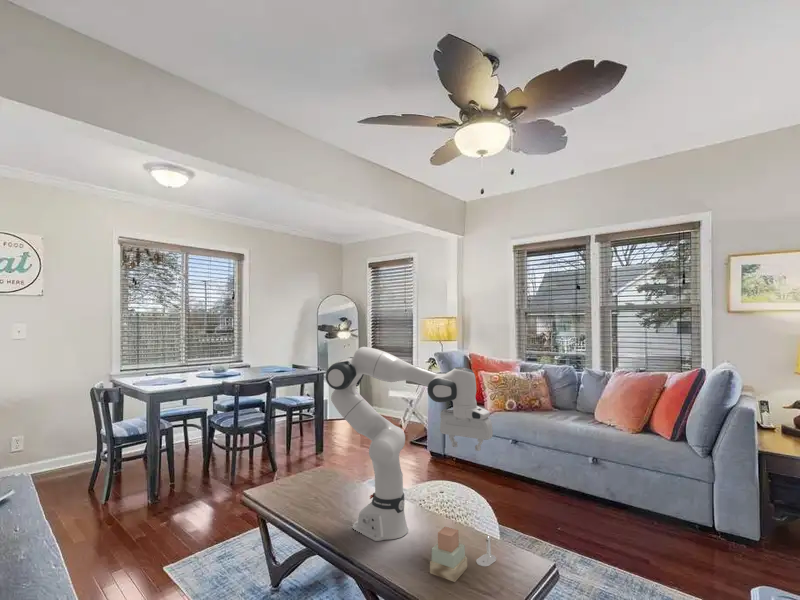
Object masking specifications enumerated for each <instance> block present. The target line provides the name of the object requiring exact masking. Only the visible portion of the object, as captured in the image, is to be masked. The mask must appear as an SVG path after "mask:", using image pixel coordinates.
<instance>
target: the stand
mask: <svg viewBox="0 0 800 600" xmlns="http://www.w3.org/2000/svg"><path fill="white" fill-rule="evenodd" d="M491 539H492V538H491V535H487V536H486V539H485V542H486V553H484V554H482V555H481V556H479V557H478V558H476V562H475V563H476V564H477V565H478V566H480V567H489V566H491V565H492V564H494V563H495V562H496V561H497V557H496V556H495V554H492V543H491V542H492V540H491Z"/></svg>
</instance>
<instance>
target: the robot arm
mask: <svg viewBox="0 0 800 600" xmlns="http://www.w3.org/2000/svg"><path fill="white" fill-rule="evenodd" d="M364 375H366V376H369V377H370V378H371V377H372V378H373V379H376V380H378V381H382V382H387V383H396V382H402V381H405V382H406V381H408V382H412V383H416V384H419V385H421V386H424V387H427V395H428V397H429V398H430V399H431V400H432V401H433V402H436V403H445V402H451V401H452V407H453V408H452V409H447V408H444V409H443V410H441V411H440V422H439V423H440V425H439V432H440V433H441V434H443V435H448V439H449V441H450V443H451V448H458V441H456V440H455V437H463V438H470V439H477V442H478V443H477V444H476V445H474V448H475V449H474V450H475V451H476V452H480V451H481V449H482V447H481V446H482V445H483V442H484V440H485V441H489V440H491V439H492V437H493V435H494V434H493V433H494V432H493V431H494V430H493V423H492V420H491V418H489V417H490V413H491V412H490V411H489V410H488V409H485V408H483V407H481V406H478V404H477V399H476V396H477V395H476V394H477V382H476V374H475V373H474V371H473V370H472V369H470V368H466V367H461V366H457V367H454V368H453V369H452V370H450V371H448V372H434V371H431V370H428V369H425V368H423V367H419V366H416V365H413V364H411V363H409V362H407V361H406V360H403V359H401V358H399V357H397V356H395V355H393V354H391V353H389V352H386V351H384V350H381V349H377V348H374V347H368V346H361V347H359V348H358V349H357V350H356V351H355V352H354V354H353V356H350V357H347V358H343V359H340V360H338V362H335V363H333V364H331V366H330V367H328V368H327V371H326V372H325V381H326V383H327V385H328V386H329V387H330V388H331V389H333V391H332V394H331V397H330V399H331V403H332V405H333V406H334V408H335V409H336V410H337V411H338V413H339V415H341V417H343V419H344V420H345V422H347V423H348V425H350V427H351V428H352V429H354V431H356V433H358V434H360V435H362V436H364V437H365V438H367V439H369V440H370V441H371V442H370V445H369V449H368V456H369V458H370V459H371V463H372V468H373V473H374V492H373V494H370V495H369V500H371V501H370V502H369V503H368V504H367V505H365V507H363V508H362V509H361V510H360V511H359V514H358V518H357V520H356V521H354V523H353V524H352V527H351V529H352V528H353V529H354V530H353V529H352V530H353V531H355V530H356V531H355V532H357V531H358V532H357V533H359V532H360V533H359V534H361V533H362V534H361V535H363V536H365V537H367V538H369V539H371V540H373V541H375V542H380V541H384V540H386V541H387V540H395V539H399V538H402V537H404V536H405V535H406V534H407V533H408V532H409V529H408V525H407V521H406V520H407V519H406V514H405V493H404V473H403V471H402V467H401V463H400V454H401V451H402V450H403V448H404V447H405V443H406V433H405V432H404V430H403V428H401V427H399V426H397V425H395V423H394V424H393V423H392V422H391V421H390V420H389V419H387V418H386V417H384V416H382V415H381V414H380V413H379V412H377V410H375V408H373V406H372V405H371V404H370V403H369V402H368V401H367V400H366V399H365V398H364V396H362V395H361V394H360V393H359V392H358V389H357V387H358V386H360V383H361V382H362V379H363V377H364Z"/></svg>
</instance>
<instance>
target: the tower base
mask: <svg viewBox="0 0 800 600" xmlns="http://www.w3.org/2000/svg"><path fill="white" fill-rule="evenodd" d="M467 569H468V557H467V556H465V558H464V559H463V560H462V561H461V562H460V563H459V564H458V565H457V566H456V567H455V568H454V569H453V568H450V567H447V566H444V565H441V564H438V563H435V562H432V559H431V560H430V561H429V574H431V575H434V576H437V577H439V578H442V579H445V580H448V581H451V582H454V583H455V582H456V581H458V579H459V578H460V577H461V576H462V575H463V574H464V573H465V572H466V570H467Z"/></svg>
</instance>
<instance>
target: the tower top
mask: <svg viewBox="0 0 800 600" xmlns="http://www.w3.org/2000/svg"><path fill="white" fill-rule="evenodd" d="M465 545H466V544H463V543H460V542H459V546H458V547H457V548H456V549H455V550H454V551H453V552H449V551H445V550H442V549H439V548H438V543H436V544H435V545H434V546H433V547H432V548H431V560H432V562H435V563H438V564H441V565H444V566H447V567H450V568H453V569H454V568H455V567H456V566H457V565H458V564H459V563H460V562H461V561H462V560H463V559H464V558H465V557H466V548H465Z"/></svg>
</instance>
